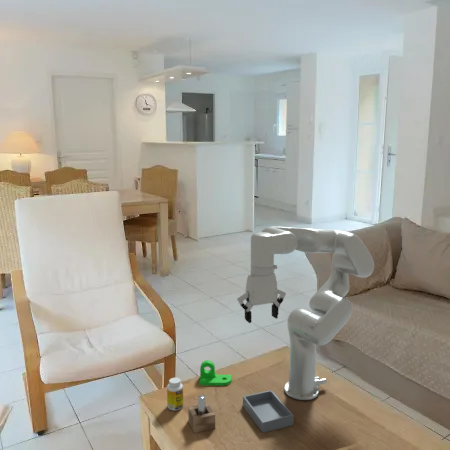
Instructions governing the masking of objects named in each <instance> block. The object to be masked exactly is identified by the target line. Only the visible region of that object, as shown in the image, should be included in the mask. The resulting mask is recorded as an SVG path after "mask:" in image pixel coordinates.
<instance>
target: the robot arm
mask: <svg viewBox="0 0 450 450" xmlns="http://www.w3.org/2000/svg"><path fill="white" fill-rule="evenodd" d="M294 251H298V252H302V253H307V254H308V253H309V254H331V253H332V257H331V270H330V271H331V272H330V275H329V278H328V279H327V280H326V281H325V282H324V284H323V285H322V286H320V287H319V289H317V291H316V292H315V293H314V294H313V296H312V297H311V298H310V300H309V305H308V306H309V308H310V310H311V311H310V310H308V309H306V308H296V309H293V310H292V311H291V312H290V313H289V315H288V318H287V330H288V335H289V359H288V360H289V361H288V362H289V363H288V364H289V365H288V381H287V382H286V383H285V384H284V388H283V389H284V393H285V394H286V395H287V396H288V397H289V398H290V397H291V398H292V399H294V400H299V401H310V400H314V399H315V398H317V397H318V396H319V394H320V392H319V391H320V389H319V386H321V385H325V384H327V379H326V378H324V377H323V378H320V376H316V366H317V365H316V364H317V363H316V361H317V359H316V358H317V357H316V356H317V346H324V345H327V344H328V343H329V342H330V341H332V340H333V338H335V336H336V335H337V334H338V333H339V332H340V331H341V329H343V327H345V325H346V324H347V323H348V322H349V320H350V318H351V316H352V313H353V305H352V302H351V301H350V299H349V298H347V297H345V296H347V294H348V293H349V291H350V285H351V284H350V276H349V275H352V276H355V277H358V278H365V279H366V278H368V277H370V276H371V275H372V274H373V272H374V270H375V260H374V258H373V256H372V254H371V253H370V251H369V249H368V247H367V246H366V245H365V244H364V241H363V240H362V239H361V238H360V237H359V236H358V234H355V233H353V232H349V231H344V230H340V229H329V228H327V229H323V228H321V229H320V228H308V227H307V228H301V227H289V226H288V227H287V226H266V227H264V229H262V230H261V231H260V232H259V231H258V232H257V231H256V232H255V233H252V235H251V237H250V273H248V274H247V277H246V283H245V286H246V287H245V293H243V294H242V295H240V297H238V298H236V300H237V302H238V304H239V306H240V307H241V308H242V309H243V310H244V320H245V321H246V322H248V323H249V324H251V323H252V311H251V309H252V308H253V307H254V306H262V305H267V304H271V316H272V317H273V318H274V319H278V318H279V317H278V316H279V308H280V307H281V304H282V303H283V301H284V298H285V297H286V294H287V293H286V292H285V291H283V290H281V289H278V282H277V276H276V273H275V270H277V269H278V266H277V265H276V264H275V263H274V261H275V259H274V258H275V255H287V254H291V253H293V252H294ZM278 294H279V295H278ZM278 296H279V297H278ZM244 301H246V302H244Z"/></svg>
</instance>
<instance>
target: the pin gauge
mask: <svg viewBox="0 0 450 450" xmlns="http://www.w3.org/2000/svg"><path fill="white" fill-rule="evenodd" d="M205 404H206V395H203V394H200V395H198V396H197V405H198V415H203V414H205Z"/></svg>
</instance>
